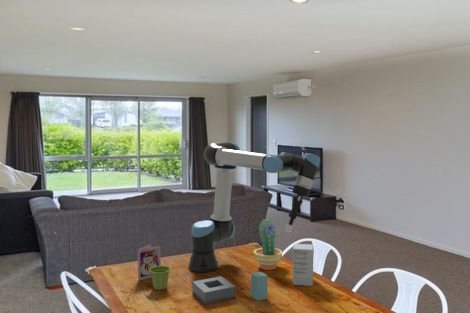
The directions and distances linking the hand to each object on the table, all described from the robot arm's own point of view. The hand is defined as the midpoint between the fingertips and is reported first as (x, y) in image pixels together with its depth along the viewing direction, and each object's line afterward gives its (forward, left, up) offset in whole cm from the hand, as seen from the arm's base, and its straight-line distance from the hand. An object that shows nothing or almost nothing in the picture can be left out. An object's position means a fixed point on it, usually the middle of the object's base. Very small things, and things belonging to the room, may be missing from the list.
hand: (287, 231), depth 189 cm
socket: (-20, -28, -25) cm, 43 cm away
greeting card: (-61, -30, -25) cm, 73 cm away
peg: (-3, -18, -25) cm, 31 cm away
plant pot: (-45, -36, -26) cm, 63 cm away
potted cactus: (-22, +17, -25) cm, 38 cm away
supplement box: (+3, +9, -26) cm, 27 cm away
